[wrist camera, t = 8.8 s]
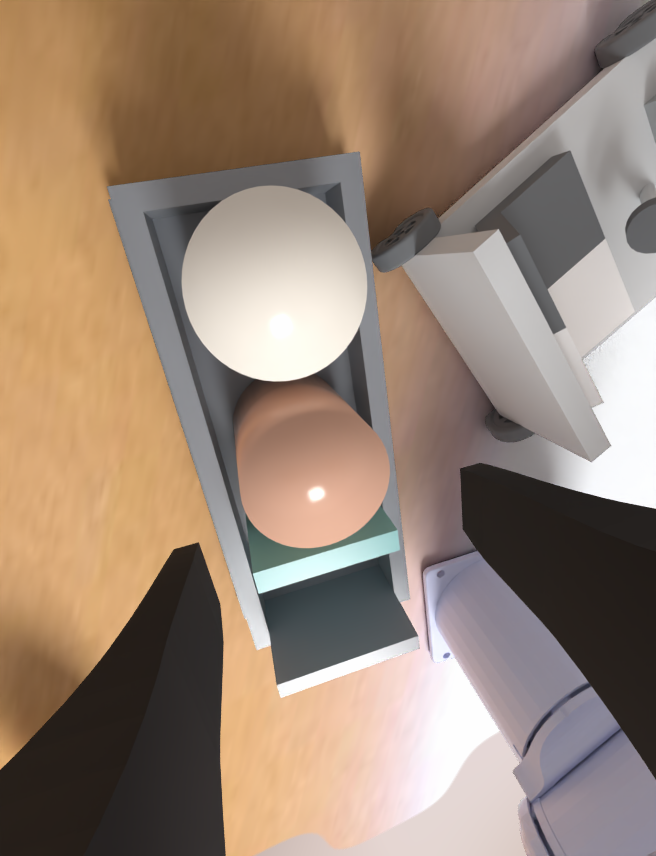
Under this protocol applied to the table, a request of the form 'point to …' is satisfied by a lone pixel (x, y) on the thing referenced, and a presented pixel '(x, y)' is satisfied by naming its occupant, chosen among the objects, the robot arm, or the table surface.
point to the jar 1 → (274, 283)
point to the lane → (215, 403)
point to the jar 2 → (306, 462)
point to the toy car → (550, 250)
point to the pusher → (317, 553)
